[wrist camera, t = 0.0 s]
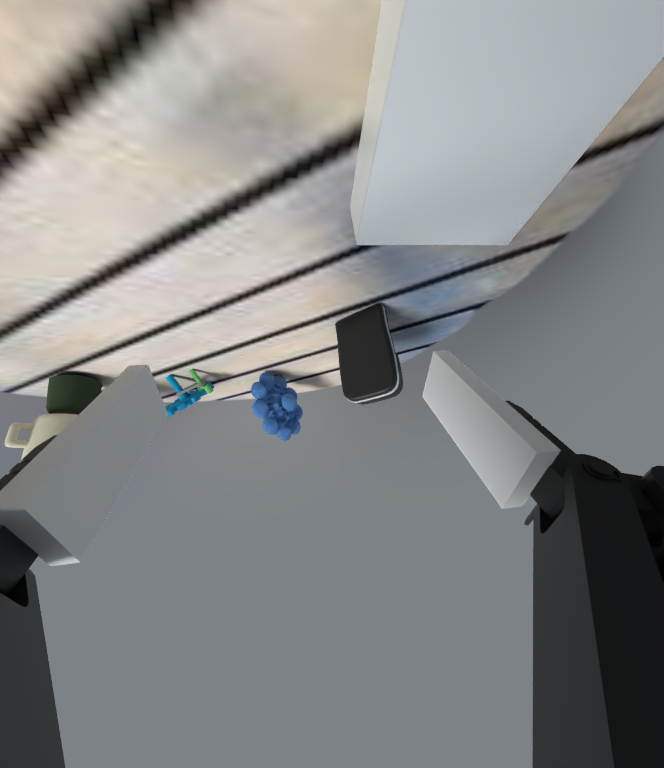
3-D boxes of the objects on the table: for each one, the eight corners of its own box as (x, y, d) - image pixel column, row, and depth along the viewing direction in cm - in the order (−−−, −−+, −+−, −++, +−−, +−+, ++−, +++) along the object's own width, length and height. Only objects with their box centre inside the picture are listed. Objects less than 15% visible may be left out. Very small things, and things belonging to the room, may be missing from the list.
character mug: (21, 375, 40) (-9, 464, 36) (37, 360, 37) (6, 457, 32) (109, 391, 49) (93, 464, 44) (127, 380, 46) (113, 459, 41)
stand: (422, -262, 8) (459, -248, 6) (751, -183, 9) (841, -158, 8) (349, 206, 21) (356, 244, 19) (491, 209, 22) (507, 245, 21)
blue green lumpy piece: (187, 400, 53) (149, 429, 44) (167, 375, 51) (124, 400, 42) (230, 380, 50) (199, 407, 41) (211, 352, 48) (175, 374, 39)
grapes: (315, 376, 52) (320, 438, 48) (290, 386, 56) (292, 444, 52) (269, 358, 43) (271, 432, 39) (243, 371, 47) (242, 440, 43)
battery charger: (346, 333, 38) (356, 410, 34) (332, 321, 35) (342, 404, 31) (392, 314, 35) (410, 396, 31) (381, 299, 32) (399, 389, 28)
